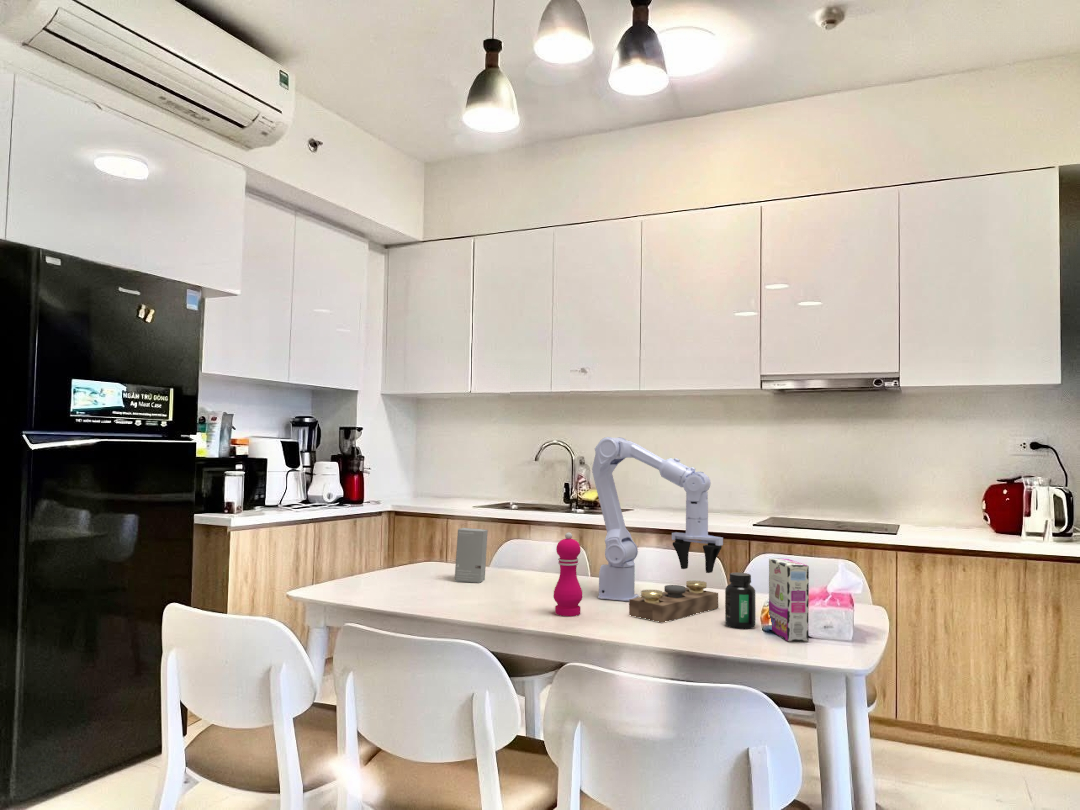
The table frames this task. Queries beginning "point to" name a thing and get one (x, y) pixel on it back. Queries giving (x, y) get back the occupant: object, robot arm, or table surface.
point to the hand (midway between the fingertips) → (696, 570)
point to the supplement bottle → (740, 602)
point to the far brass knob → (696, 586)
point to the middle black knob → (674, 590)
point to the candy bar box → (789, 599)
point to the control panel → (674, 606)
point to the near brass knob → (651, 596)
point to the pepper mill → (568, 578)
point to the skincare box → (471, 555)
